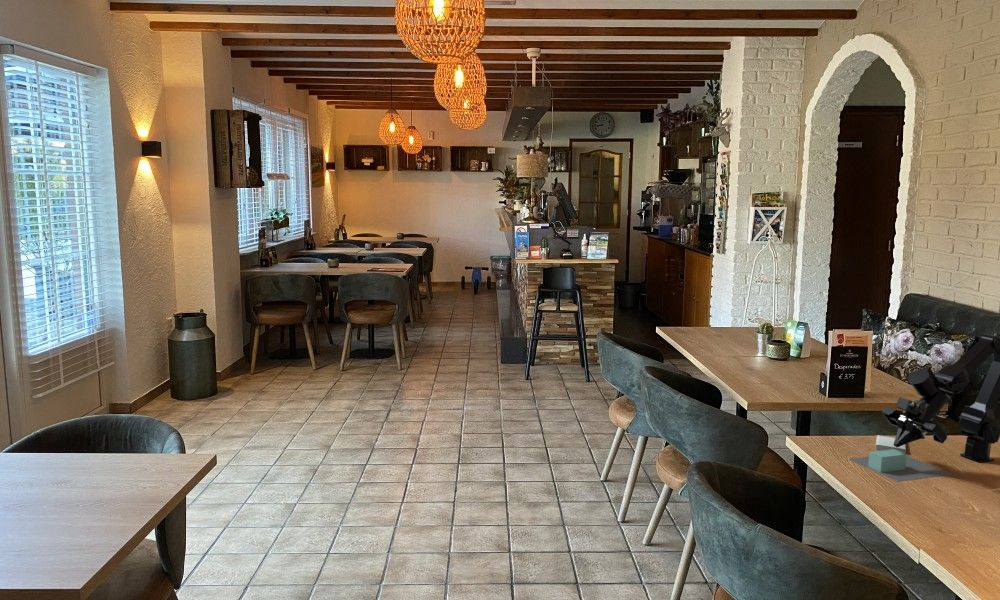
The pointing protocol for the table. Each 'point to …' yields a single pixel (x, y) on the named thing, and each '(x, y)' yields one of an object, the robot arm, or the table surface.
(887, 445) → the hard drive
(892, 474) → the rubber mat
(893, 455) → the teal block
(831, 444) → the table surface
